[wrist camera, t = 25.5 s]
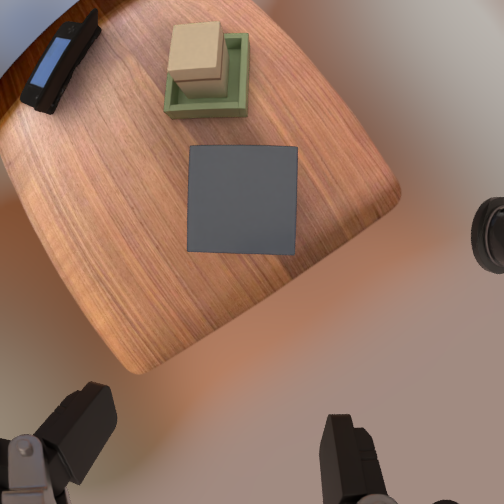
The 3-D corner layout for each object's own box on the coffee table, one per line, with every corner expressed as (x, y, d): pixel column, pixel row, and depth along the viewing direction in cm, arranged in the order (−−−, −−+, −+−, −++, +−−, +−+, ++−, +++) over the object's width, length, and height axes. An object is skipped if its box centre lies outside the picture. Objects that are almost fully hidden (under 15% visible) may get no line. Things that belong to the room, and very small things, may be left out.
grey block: (286, 171, 37) (297, 146, 22) (284, 238, 38) (294, 255, 23) (219, 170, 37) (189, 145, 22) (217, 236, 38) (186, 252, 23)
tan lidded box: (230, 56, 35) (220, 20, 26) (227, 97, 36) (216, 67, 27) (191, 59, 35) (173, 24, 26) (187, 99, 36) (166, 71, 27)
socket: (250, 45, 35) (248, 32, 32) (247, 117, 36) (245, 108, 33) (178, 49, 35) (171, 37, 32) (171, 119, 37) (163, 111, 33)
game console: (68, 23, 35) (40, 0, 26) (124, 34, 35) (97, 5, 26) (21, 102, 37) (-14, 89, 28) (70, 124, 37) (33, 109, 28)
